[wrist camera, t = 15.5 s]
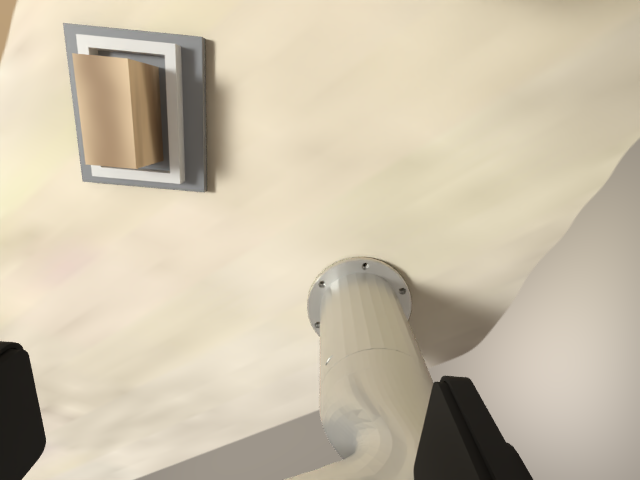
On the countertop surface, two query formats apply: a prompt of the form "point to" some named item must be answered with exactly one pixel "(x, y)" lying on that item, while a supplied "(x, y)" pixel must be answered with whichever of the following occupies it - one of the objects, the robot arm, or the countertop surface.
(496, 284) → the countertop surface
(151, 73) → the oak block
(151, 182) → the locator board
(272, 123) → the countertop surface
